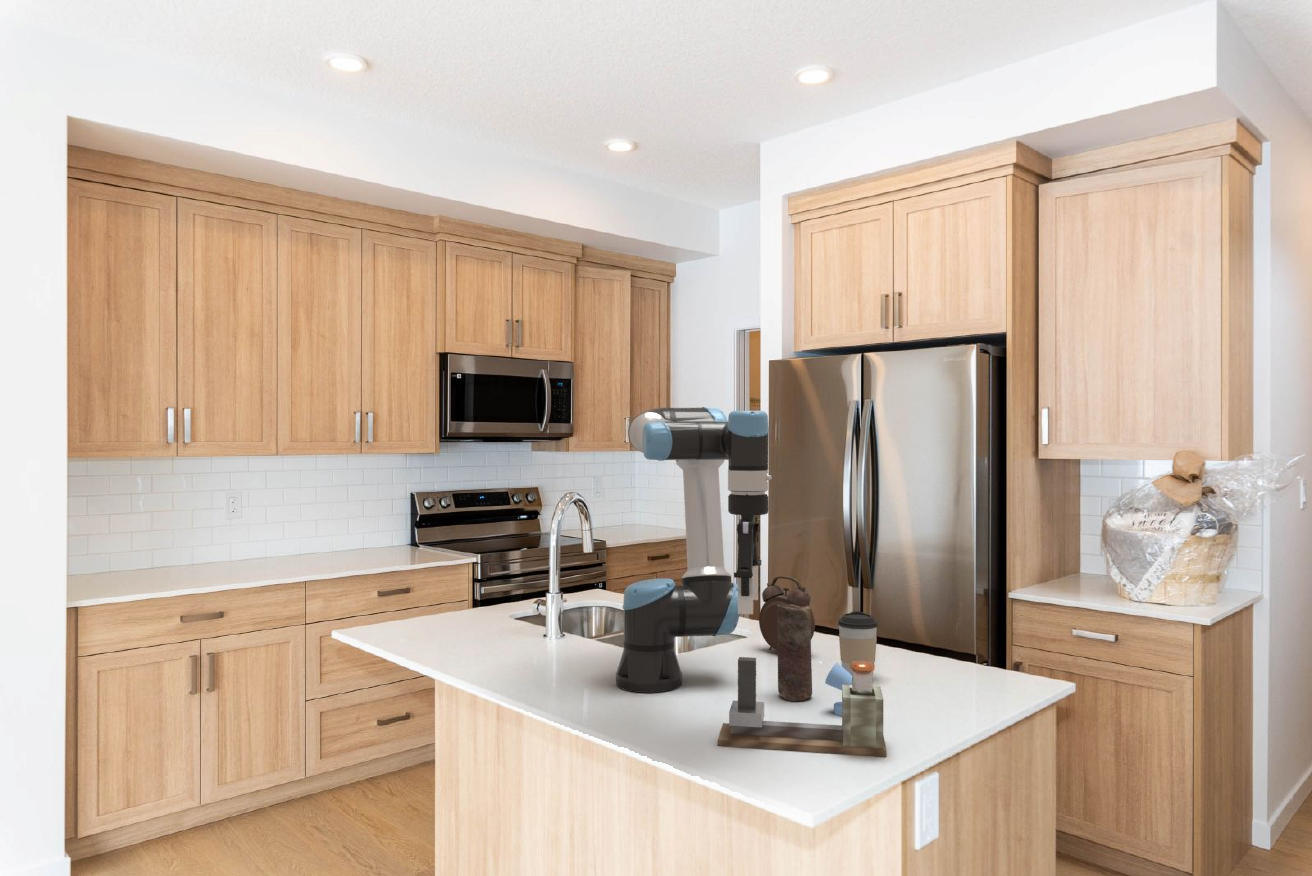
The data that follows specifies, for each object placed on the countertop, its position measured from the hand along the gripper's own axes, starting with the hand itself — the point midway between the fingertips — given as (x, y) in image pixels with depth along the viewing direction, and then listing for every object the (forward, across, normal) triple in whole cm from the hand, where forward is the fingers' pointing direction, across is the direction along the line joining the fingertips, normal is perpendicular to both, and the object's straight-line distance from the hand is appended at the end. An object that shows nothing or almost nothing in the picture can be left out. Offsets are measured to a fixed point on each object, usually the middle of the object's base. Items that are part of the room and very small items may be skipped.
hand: (748, 606), depth 164 cm
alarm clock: (+25, +65, -5) cm, 70 cm away
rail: (+25, 0, -10) cm, 27 cm away
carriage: (+21, 0, 0) cm, 21 cm away
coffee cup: (+25, +45, -22) cm, 56 cm away
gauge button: (+18, 0, -21) cm, 27 cm away
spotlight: (+25, +19, -18) cm, 36 cm away
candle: (+25, +28, -8) cm, 38 cm away
